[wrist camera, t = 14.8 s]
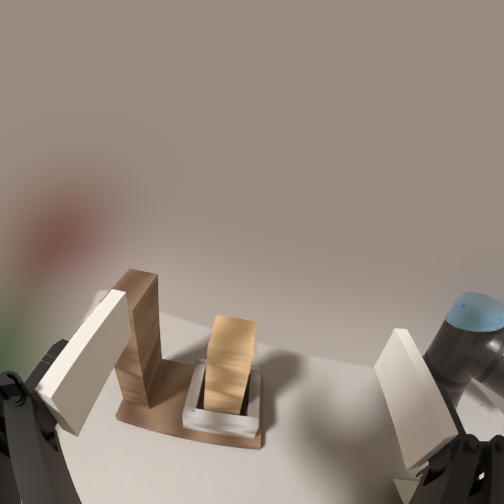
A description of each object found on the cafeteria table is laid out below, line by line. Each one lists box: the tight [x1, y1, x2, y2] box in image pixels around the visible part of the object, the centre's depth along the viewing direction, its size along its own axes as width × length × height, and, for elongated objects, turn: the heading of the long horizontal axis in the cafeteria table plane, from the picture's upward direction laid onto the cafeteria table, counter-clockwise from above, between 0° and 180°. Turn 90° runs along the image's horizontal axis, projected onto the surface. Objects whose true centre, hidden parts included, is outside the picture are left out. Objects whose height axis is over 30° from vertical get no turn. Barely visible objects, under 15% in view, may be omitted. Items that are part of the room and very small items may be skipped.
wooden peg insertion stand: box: [100, 269, 263, 450], centre depth 33 cm, size 21×14×20 cm, turn 87°
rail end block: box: [204, 315, 256, 415], centre depth 34 cm, size 5×6×15 cm
